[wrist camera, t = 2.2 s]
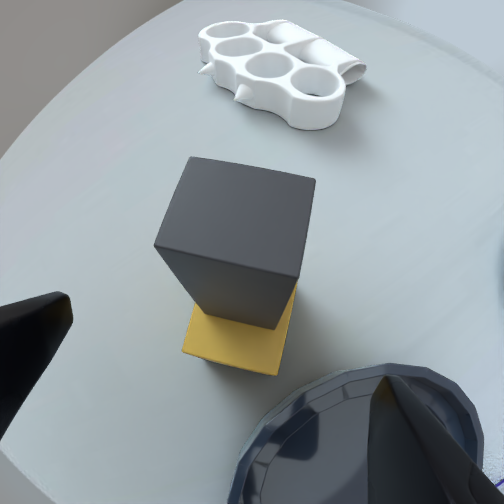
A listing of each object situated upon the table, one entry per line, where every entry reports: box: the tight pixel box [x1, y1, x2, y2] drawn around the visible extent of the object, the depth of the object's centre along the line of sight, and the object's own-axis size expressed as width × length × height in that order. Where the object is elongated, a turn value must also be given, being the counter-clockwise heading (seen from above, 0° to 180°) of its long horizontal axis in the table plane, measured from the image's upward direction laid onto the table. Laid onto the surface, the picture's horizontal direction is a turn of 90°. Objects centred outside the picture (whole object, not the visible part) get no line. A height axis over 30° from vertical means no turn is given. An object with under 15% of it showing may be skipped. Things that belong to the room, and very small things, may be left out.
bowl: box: [227, 363, 484, 504], centre depth 13 cm, size 15×15×4 cm
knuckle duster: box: [198, 19, 367, 130], centre depth 26 cm, size 3×18×15 cm
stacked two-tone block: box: [154, 157, 316, 376], centre depth 12 cm, size 6×4×13 cm
